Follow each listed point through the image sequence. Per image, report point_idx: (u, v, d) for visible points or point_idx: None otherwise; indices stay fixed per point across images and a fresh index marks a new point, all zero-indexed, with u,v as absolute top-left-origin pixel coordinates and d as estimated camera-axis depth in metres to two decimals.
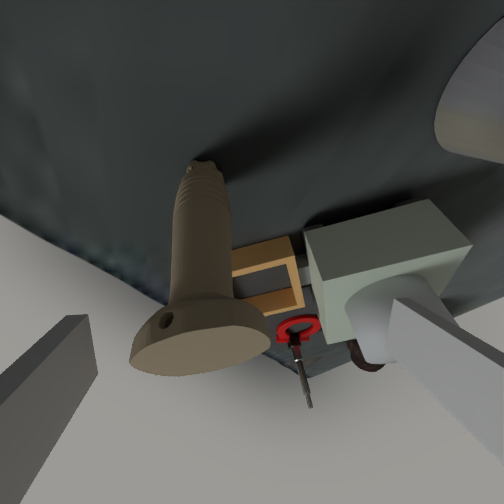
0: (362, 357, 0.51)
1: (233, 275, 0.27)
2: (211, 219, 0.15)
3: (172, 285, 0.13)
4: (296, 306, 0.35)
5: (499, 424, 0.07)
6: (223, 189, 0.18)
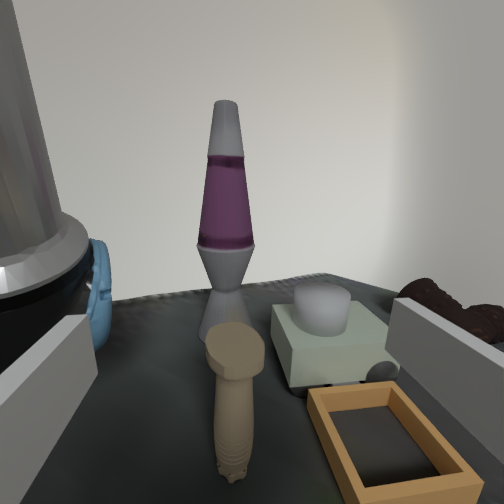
0: (482, 322, 0.45)
1: (339, 441, 0.26)
2: None
3: (221, 384, 0.21)
4: (394, 387, 0.33)
5: (499, 424, 0.07)
6: None
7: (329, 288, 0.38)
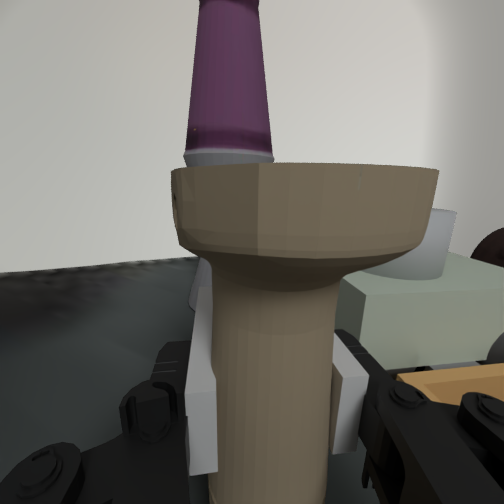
0: None
1: None
2: None
3: (232, 327, 0.06)
4: None
5: None
6: None
7: None
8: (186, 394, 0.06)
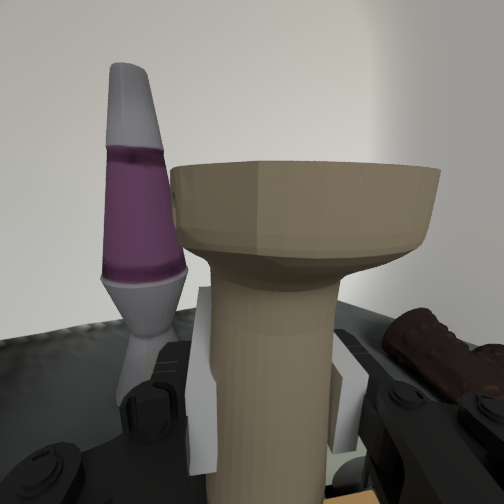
0: (497, 375, 0.34)
1: None
2: None
3: (231, 328, 0.06)
4: None
5: None
6: None
7: None
8: (186, 394, 0.06)
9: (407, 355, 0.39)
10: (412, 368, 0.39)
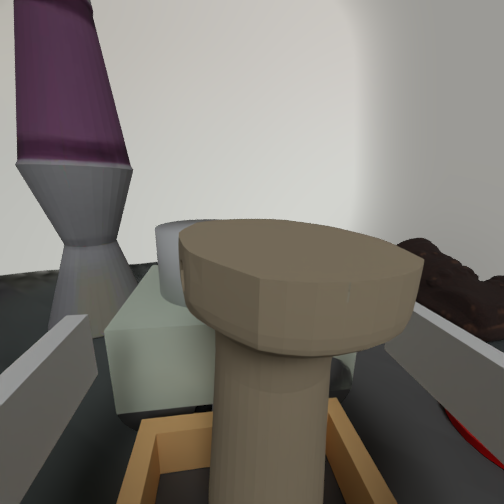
0: None
1: None
2: None
3: (234, 382, 0.06)
4: (334, 414, 0.15)
5: (499, 424, 0.07)
6: None
7: None
8: None
9: None
10: None
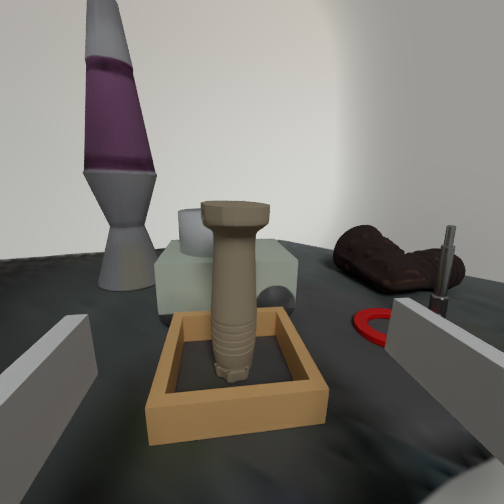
0: (420, 264, 0.39)
1: (170, 353, 0.20)
2: None
3: (219, 251, 0.18)
4: (279, 311, 0.27)
5: (499, 424, 0.07)
6: None
7: None
8: None
9: (350, 259, 0.44)
10: (355, 272, 0.45)
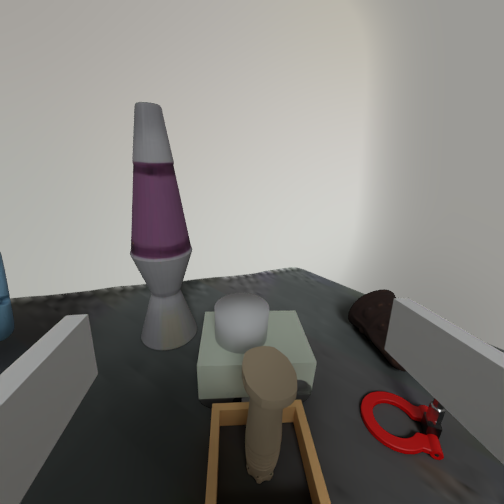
0: None
1: (214, 463, 0.27)
2: None
3: (255, 406, 0.24)
4: (298, 407, 0.33)
5: (499, 424, 0.07)
6: None
7: (253, 302, 0.38)
8: None
9: (364, 326, 0.48)
10: (367, 336, 0.49)
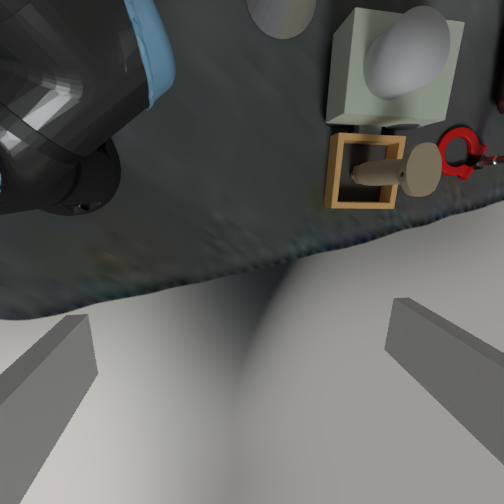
0: None
1: (338, 177, 0.42)
2: (378, 164, 0.37)
3: (395, 179, 0.34)
4: (401, 143, 0.42)
5: (499, 424, 0.07)
6: None
7: (434, 37, 0.29)
8: None
9: None
10: None
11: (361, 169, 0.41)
